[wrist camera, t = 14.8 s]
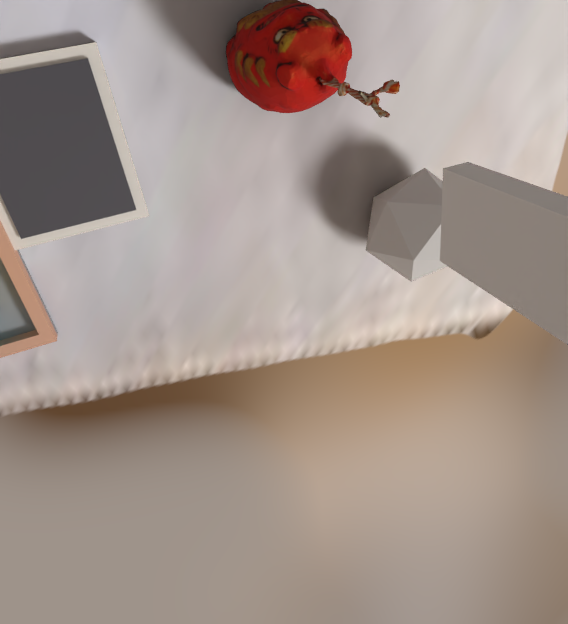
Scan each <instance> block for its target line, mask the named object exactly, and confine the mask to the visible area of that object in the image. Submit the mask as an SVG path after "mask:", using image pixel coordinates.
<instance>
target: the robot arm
mask: <svg viewBox="0 0 568 624" xmlns="http://www.w3.org/2000/svg"><path fill="white" fill-rule="evenodd" d="M440 261H441V262H442V263H444V264H445V265H447V266H448V267H450V268H451V269H453V270H455V271H456V272H458V273H459V274H461V275H462V276H464V277H465V278H467V279H468V280H470V281H471V282H473V283H474V284H476V285H477V286H479V287H480V288H482V289H483V290H485V291H487V292H488V293H490V294H491V295H493V296H494V297H496V298H497V299H499V300H500V301H502V302H503V303H505V304H506V305H508V306H509V307H511V308H512V309H514V310H516V311H517V312H519V313H520V314H522V315H523V316H525V317H526V318H528V319H529V320H531V321H532V322H534V323H535V324H537V325H538V326H540V327H542V328H543V329H544V330H546V331H548V332H549V333H551V334H552V335H554V336H555V337H557V338H558V339H560V340H561V341H563V342H564V343H566V344H567V345H568V197H567V196H564V195H561V194H558V193H556V192H553V191H550V190H547V189H544V188H541V187H538V186H535V185H533V184H530V183H527V182H524V181H521V180H518V179H515V178H512V177H510V176H507V175H504V174H501V173H498V172H495V171H492V170H489V169H487V168H484V167H481V166H478V165H475V164H472V163H469V162H466V163H462V164H458V165H455V166H451V167H447V168H443V189H442V216H441V242H440Z"/></svg>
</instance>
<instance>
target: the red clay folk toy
mask: <svg viewBox="0 0 568 624" xmlns="http://www.w3.org/2000/svg"><path fill="white" fill-rule="evenodd" d="M351 56H352V48H351V42H350V40H349V38H348V37H347V36H346V35H345V34H344V31H343V30H342V29H341V28H340V25H339V24H338V22H337V20H336V19H335V18H334V17H333V16H331V15H330V14H329V13H328V11H327V10H325V9H316V8H314V7H313V6H311V5H309V4H306V3H301V2H300V1H298V0H281V1H276V2H274V3H269V4H267V5H265V7H264V8H263V9H262V10H259V11H255V12H253V13H251V14H249V15H247V16H246V17H244V18H242V19H241V20H240V21H239V22H238V23H237V30H236V34H235V35H234V36H233V37H232V39H231V40H230V41H229V42H228V43H227V46H226V57H227V60H228V63H227V64H228V70H229V73H230V77H231V79H232V81H233V83H234V85H235V87H236V89H237V90H238V91H239V92H240V93H241V94H242V95H243V96H244V97H245V98H247V99H248V100H250V101H251V102H253V103H255V104H257V105H258V106H259V107H261V108H262V109H264V110H267V111H275V112H280V113H293V112H299V111H303V110H306V109H309V108H311V107H313V106H315V105H317V104H319V103H321V102H322V101H324V100H325V99H327V98H328V97H330V96H331V95H333V94H334V93H335V92H336V91H337V90H338V95H339V96H345V95H346V94H347V93H349V94H350V95H351V96H353V97H354V98H356V99H358V100H359V101H361V102H362V103H363V104H365V105H367V106H369V105H370V106H371V107H372V108H373V109H374V110H375V111H376V113H377V114H378V115H379V117H380V118H381V116H384V117H389V115H390V114H389V113H388V112H386V111H384V110H382V109H381V107H379V105H378V104H379V100H380V99H379V97H377V96H376V95H377V94H378V93H381V92H386V93H391V94H396V93H397V92H399V87H400V85H399V81H398V82H394V80H390V81H387V82H385V83H384V85H383V87H381V88H379V89H378V90H375V91H373V92H372V93H371V94H367V93H365V92H362V91H357V90H354V89H351V88H350V85H349V84H348V83H346V82H344V80H345V78H346V71H347V66H348V61H349V60H350V59H351Z"/></svg>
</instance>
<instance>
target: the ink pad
mask: <svg viewBox="0 0 568 624" xmlns="http://www.w3.org/2000/svg"><path fill="white" fill-rule="evenodd" d="M148 216H149V213H148V209H147V206H146V203H145V200H144V196H143V193H142V190H141V187H140V183H139V180H138V177H137V174H136V170H135V167H134V164H133V161H132V157H131V154H130V151H129V148H128V144H127V141H126V138H125V135H124V131H123V128H122V125H121V122H120V118H119V115H118V112H117V109H116V105H115V102H114V99H113V96H112V92H111V89H110V86H109V83H108V79H107V76H106V73H105V69H104V66H103V63H102V60H101V56H100V53H99V50H98V47H97V43H96V42H93V43H88V44H82V45H76V46H71V47H65V48H59V49H54V50H48V51H42V52H37V53H31V54H25V55H20V56H14V57H8V58H3V59H0V221H1V223H2V225H3V227H4V229H5V231H6V233H7V235H8V237H9V239H10V242H11V244H12V246H13V248H14V250H19V249H23V248H26V247H30V246H34V245H38V244H42V243H46V242H50V241H54V240H58V239H62V238H66V237H69V236H73V235H77V234H81V233H85V232H89V231H93V230H97V229H101V228H105V227H109V226H112V225H116V224H120V223H124V222H128V221H132V220H136V219H140V218H144V217H148Z"/></svg>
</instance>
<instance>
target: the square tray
mask: <svg viewBox="0 0 568 624" xmlns="http://www.w3.org/2000/svg"><path fill="white" fill-rule="evenodd" d="M57 333H58V332H57V330H56V328H55V326H54V324H53V322H52V320H51V318H50V315H49V313H48V311H47V309H46V307H45V305H44V303H43V301H42V299H41V296H40V294H39V292H38V290H37V288H36V286H35V284H34V282H33V280H32V278H31V275H30V273H29V271H28V269H27V267H26V265H25V263H24V261H23V259H22V257H21V254H20V252H19V250H14V248H13V246H12V244H11V242H10V239H9V237H8V235H7V233H6V231H5V229H4V227H3V225H2V223H1V221H0V358H1V357H5V356H8V355H11V354H15V353H18V352H21V351H25V350H28V349H32V348H35V347H38V346H42V345H45V344H48V343H52V342H55V341H57Z"/></svg>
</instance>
